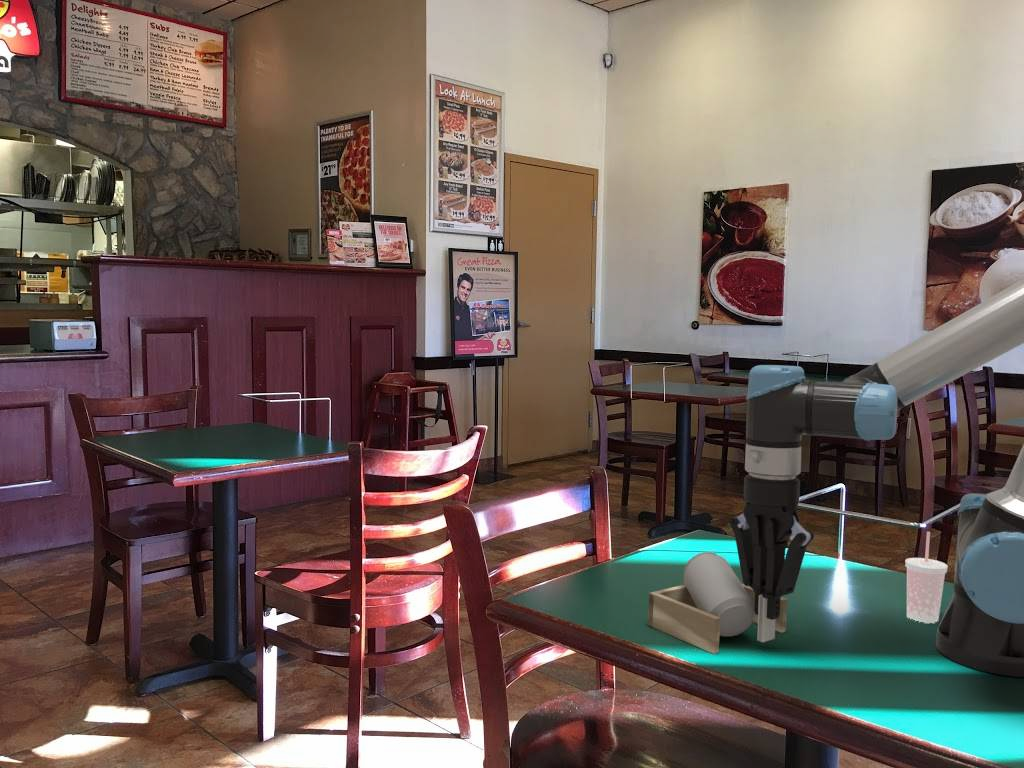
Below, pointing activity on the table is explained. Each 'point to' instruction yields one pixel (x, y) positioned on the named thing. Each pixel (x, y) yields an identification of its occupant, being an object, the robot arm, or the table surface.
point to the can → (719, 592)
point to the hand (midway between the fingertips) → (766, 639)
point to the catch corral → (694, 617)
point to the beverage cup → (924, 587)
